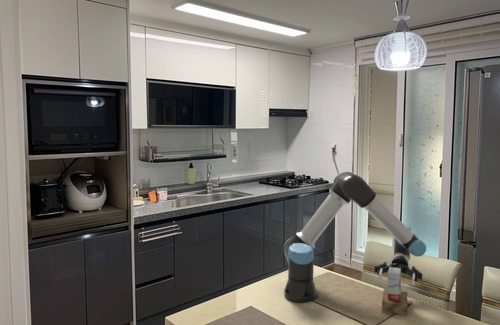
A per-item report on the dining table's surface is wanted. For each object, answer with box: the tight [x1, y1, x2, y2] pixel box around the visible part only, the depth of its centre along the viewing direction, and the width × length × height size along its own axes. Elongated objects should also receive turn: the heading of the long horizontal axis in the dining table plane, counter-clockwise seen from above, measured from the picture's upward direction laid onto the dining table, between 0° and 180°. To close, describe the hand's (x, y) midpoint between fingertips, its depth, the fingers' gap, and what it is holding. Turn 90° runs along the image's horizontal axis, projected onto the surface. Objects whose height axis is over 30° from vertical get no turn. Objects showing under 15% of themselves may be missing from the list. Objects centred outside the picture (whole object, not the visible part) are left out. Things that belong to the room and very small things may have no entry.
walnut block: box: [381, 288, 408, 317], centre depth 169 cm, size 10×14×5 cm
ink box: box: [387, 267, 402, 301], centre depth 168 cm, size 9×5×12 cm, turn 154°
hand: (396, 279), depth 167 cm, fingers open, 13 cm apart
